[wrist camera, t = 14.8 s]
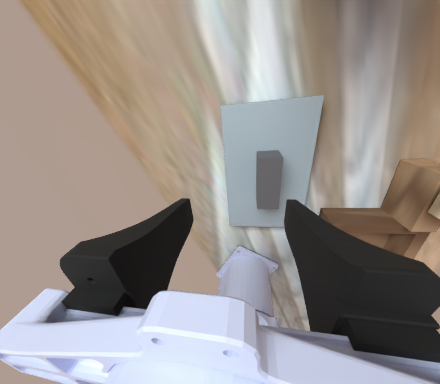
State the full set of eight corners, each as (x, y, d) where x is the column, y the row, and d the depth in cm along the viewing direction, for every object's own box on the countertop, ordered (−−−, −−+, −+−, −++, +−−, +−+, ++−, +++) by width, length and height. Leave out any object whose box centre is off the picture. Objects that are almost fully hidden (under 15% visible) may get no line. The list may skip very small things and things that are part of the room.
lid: (297, 219, 24) (307, 243, 20) (230, 218, 26) (227, 240, 22) (317, 96, 17) (339, 92, 13) (222, 105, 19) (215, 105, 15)
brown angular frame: (367, 286, 28) (386, 316, 24) (304, 281, 30) (313, 308, 26) (432, 158, 18) (484, 173, 14) (331, 162, 20) (352, 176, 16)
